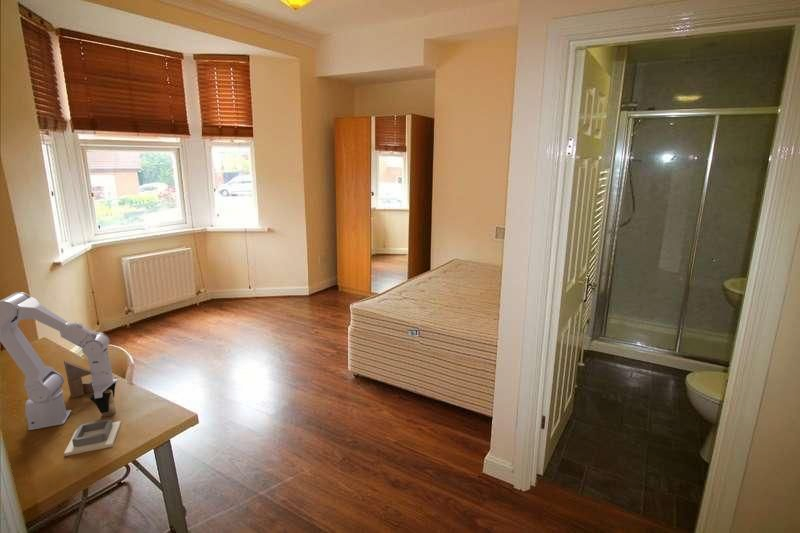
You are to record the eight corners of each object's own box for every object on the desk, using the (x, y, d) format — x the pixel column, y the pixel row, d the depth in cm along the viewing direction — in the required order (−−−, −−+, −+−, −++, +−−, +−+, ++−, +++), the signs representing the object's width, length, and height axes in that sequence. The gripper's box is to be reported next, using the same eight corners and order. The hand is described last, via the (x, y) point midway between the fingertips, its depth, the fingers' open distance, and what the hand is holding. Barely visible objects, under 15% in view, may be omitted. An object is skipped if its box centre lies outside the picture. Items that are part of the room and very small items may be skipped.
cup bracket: (64, 456, 123) (62, 445, 122) (77, 431, 134) (75, 422, 133) (112, 446, 127) (110, 436, 127) (121, 423, 138) (119, 414, 137)
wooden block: (70, 394, 154) (61, 350, 149) (104, 383, 162) (97, 340, 157) (72, 398, 152) (63, 353, 147) (107, 387, 159) (99, 343, 155)
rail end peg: (100, 417, 141) (96, 396, 139) (103, 411, 144) (99, 390, 142) (114, 415, 142) (110, 394, 140) (117, 408, 146) (113, 388, 144)
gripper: (110, 378, 134) (116, 415, 138) (119, 358, 147) (125, 392, 151) (83, 382, 132) (90, 419, 135) (95, 361, 145) (102, 396, 148)
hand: (107, 405), depth 143 cm, fingers open, 7 cm apart
